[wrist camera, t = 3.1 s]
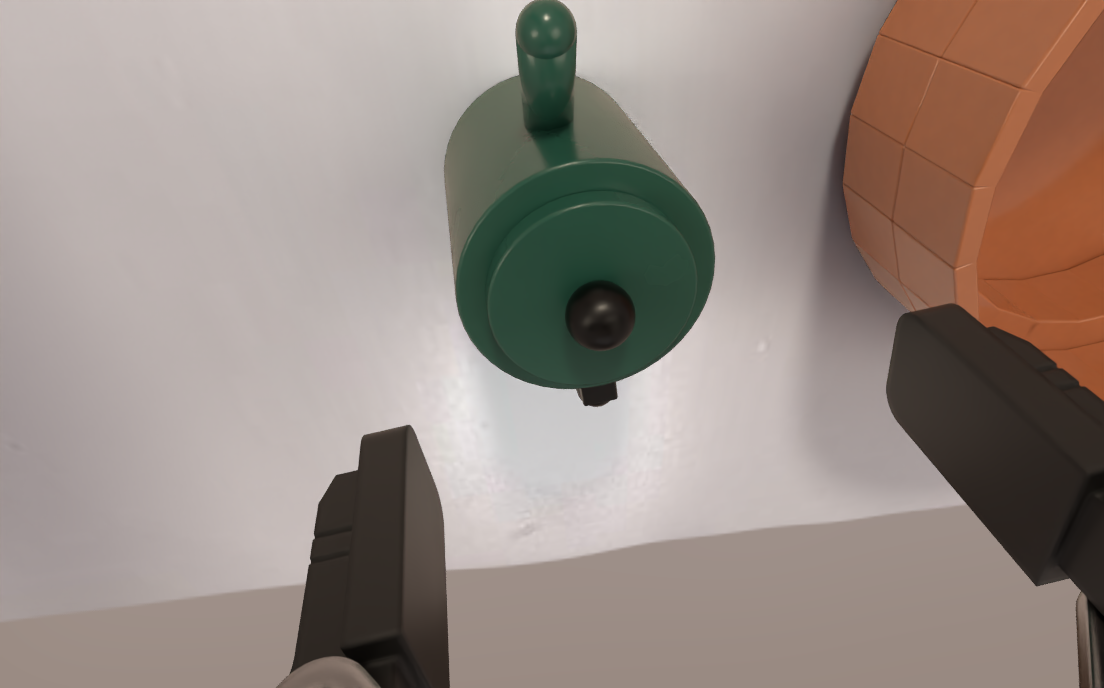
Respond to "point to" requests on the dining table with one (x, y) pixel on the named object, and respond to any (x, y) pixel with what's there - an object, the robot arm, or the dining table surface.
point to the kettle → (568, 225)
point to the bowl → (988, 168)
